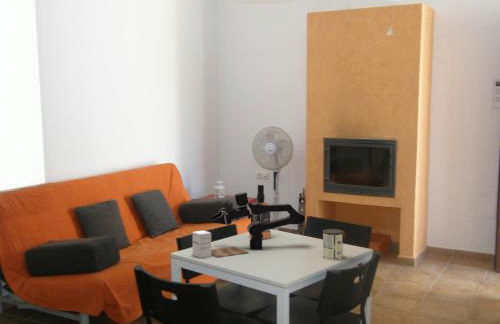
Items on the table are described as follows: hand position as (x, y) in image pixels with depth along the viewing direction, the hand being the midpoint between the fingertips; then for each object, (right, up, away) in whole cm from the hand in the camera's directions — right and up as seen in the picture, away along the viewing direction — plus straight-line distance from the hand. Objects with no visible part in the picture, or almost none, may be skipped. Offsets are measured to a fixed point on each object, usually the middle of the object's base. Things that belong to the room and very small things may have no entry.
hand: (210, 220), depth 294 cm
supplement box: (-4, -18, -12) cm, 21 cm away
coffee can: (+64, -18, -13) cm, 68 cm away
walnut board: (+9, -17, -4) cm, 19 cm away
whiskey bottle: (+28, -14, +33) cm, 45 cm away
